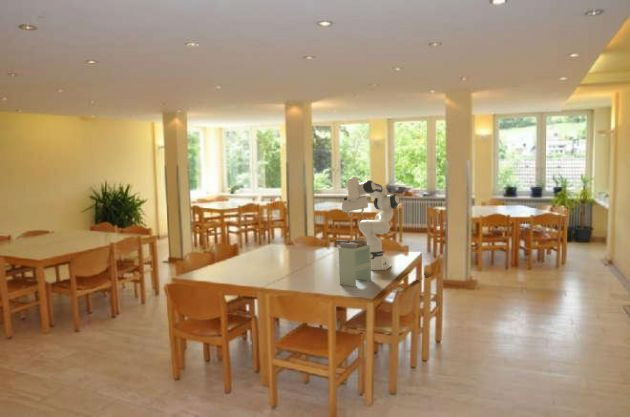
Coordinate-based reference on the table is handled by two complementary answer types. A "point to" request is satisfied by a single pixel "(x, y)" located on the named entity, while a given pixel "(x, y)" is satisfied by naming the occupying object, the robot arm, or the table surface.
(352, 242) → the board with handle
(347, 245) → the stand
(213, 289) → the table surface
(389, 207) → the robot arm
